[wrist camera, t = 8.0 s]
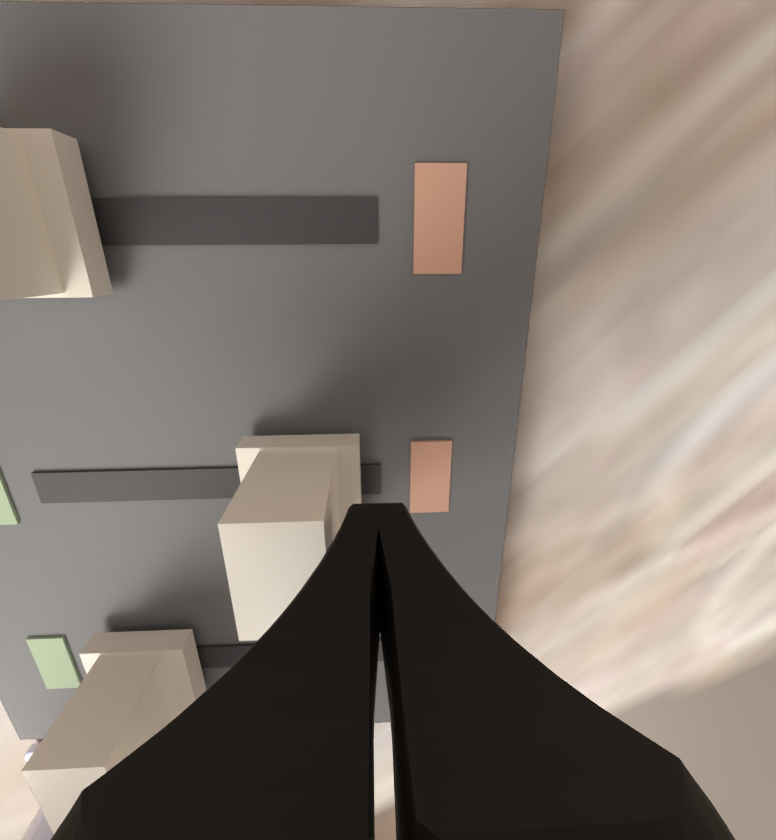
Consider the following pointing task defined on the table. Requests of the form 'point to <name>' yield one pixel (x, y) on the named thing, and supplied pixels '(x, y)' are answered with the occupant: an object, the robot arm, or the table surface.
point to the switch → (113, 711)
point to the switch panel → (262, 299)
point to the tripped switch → (284, 519)
